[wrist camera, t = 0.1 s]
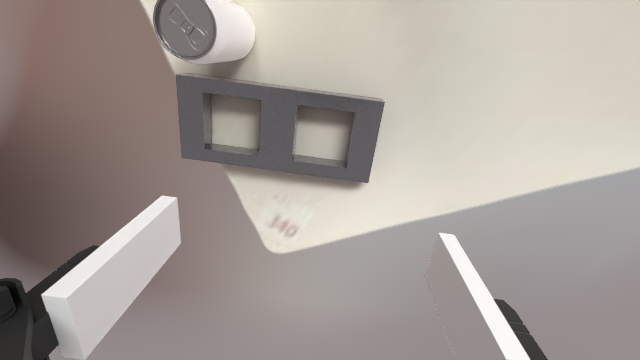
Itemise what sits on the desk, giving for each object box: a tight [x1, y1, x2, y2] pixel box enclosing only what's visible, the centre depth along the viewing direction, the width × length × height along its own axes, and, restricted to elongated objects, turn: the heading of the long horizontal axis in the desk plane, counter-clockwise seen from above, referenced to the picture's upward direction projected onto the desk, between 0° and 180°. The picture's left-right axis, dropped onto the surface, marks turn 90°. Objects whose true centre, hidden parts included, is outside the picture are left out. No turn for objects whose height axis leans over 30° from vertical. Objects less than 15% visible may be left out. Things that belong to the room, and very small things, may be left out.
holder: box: [176, 73, 385, 183], centre depth 40 cm, size 11×26×2 cm, turn 83°
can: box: [153, 0, 255, 64], centre depth 32 cm, size 6×6×12 cm
